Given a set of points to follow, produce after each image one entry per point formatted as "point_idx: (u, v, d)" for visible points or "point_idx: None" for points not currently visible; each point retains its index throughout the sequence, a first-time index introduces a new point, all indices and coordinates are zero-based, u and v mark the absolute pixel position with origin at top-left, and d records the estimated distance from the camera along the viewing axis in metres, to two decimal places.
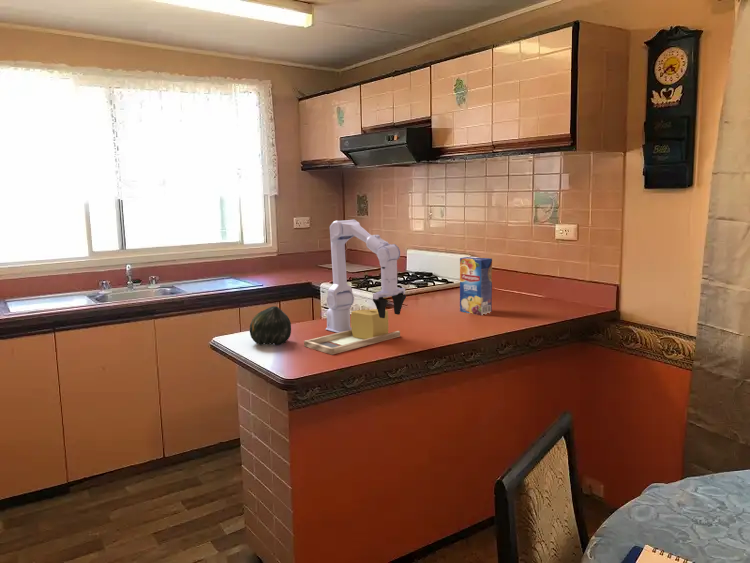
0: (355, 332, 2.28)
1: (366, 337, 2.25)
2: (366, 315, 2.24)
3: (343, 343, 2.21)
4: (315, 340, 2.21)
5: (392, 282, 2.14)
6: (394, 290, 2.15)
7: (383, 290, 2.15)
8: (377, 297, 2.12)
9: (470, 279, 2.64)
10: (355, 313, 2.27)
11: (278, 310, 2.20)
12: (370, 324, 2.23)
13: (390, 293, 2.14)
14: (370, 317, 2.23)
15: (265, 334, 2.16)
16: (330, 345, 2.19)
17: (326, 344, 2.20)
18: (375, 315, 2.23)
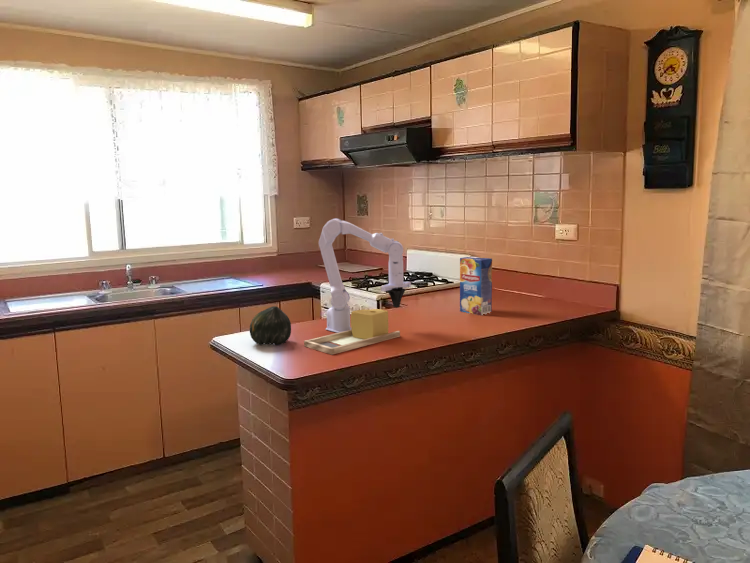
0: (355, 332, 2.28)
1: (366, 337, 2.25)
2: (366, 315, 2.24)
3: (343, 343, 2.21)
4: (315, 340, 2.21)
5: (399, 276, 2.33)
6: (400, 283, 2.34)
7: (390, 283, 2.34)
8: (385, 289, 2.31)
9: (470, 279, 2.64)
10: (355, 313, 2.27)
11: (278, 310, 2.20)
12: (370, 324, 2.23)
13: (397, 286, 2.33)
14: (370, 317, 2.23)
15: (265, 334, 2.16)
16: (330, 345, 2.19)
17: (326, 344, 2.20)
18: (375, 315, 2.23)
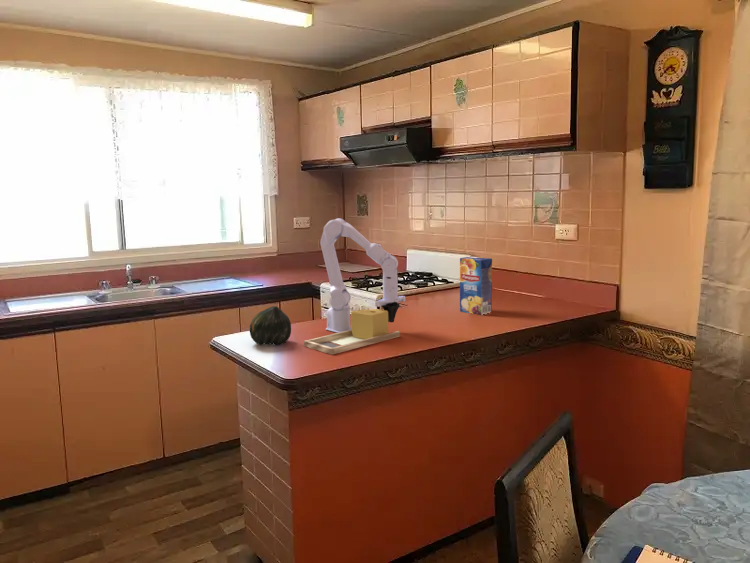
0: (355, 332, 2.28)
1: (366, 337, 2.25)
2: (366, 315, 2.24)
3: (343, 343, 2.21)
4: (315, 340, 2.21)
5: (393, 291, 2.32)
6: (395, 298, 2.33)
7: (385, 298, 2.33)
8: (379, 304, 2.30)
9: (470, 279, 2.64)
10: (355, 313, 2.27)
11: (278, 310, 2.20)
12: (370, 324, 2.23)
13: (391, 301, 2.32)
14: (370, 317, 2.23)
15: (265, 334, 2.16)
16: (330, 345, 2.19)
17: (326, 344, 2.20)
18: (375, 315, 2.23)
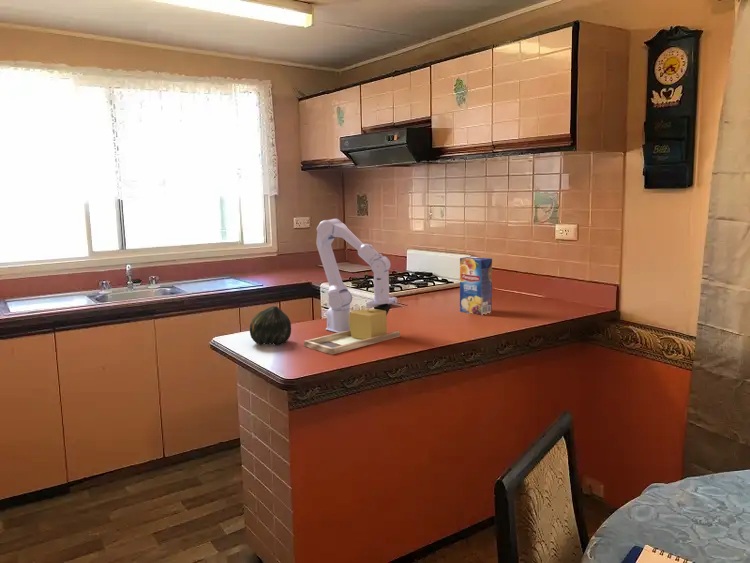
0: (354, 332, 2.28)
1: (364, 337, 2.25)
2: (364, 315, 2.23)
3: (343, 343, 2.21)
4: (315, 340, 2.21)
5: (384, 292, 2.29)
6: (386, 299, 2.30)
7: (376, 299, 2.30)
8: (370, 306, 2.27)
9: (470, 279, 2.64)
10: (353, 313, 2.26)
11: (278, 310, 2.20)
12: (368, 324, 2.22)
13: (382, 302, 2.29)
14: (368, 318, 2.22)
15: (265, 334, 2.16)
16: (330, 345, 2.19)
17: (326, 344, 2.20)
18: (373, 315, 2.23)
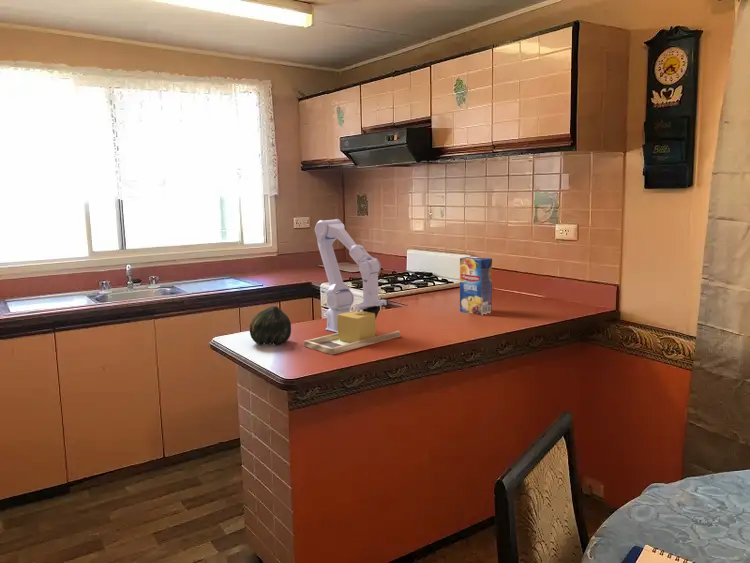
0: (342, 335, 2.24)
1: (353, 340, 2.21)
2: (352, 318, 2.19)
3: (343, 343, 2.21)
4: (315, 340, 2.21)
5: (373, 294, 2.25)
6: (375, 302, 2.26)
7: (365, 302, 2.26)
8: (359, 309, 2.23)
9: (470, 279, 2.64)
10: (341, 316, 2.22)
11: (278, 310, 2.20)
12: (356, 327, 2.18)
13: (371, 305, 2.25)
14: (356, 320, 2.18)
15: (265, 334, 2.16)
16: (330, 345, 2.19)
17: (326, 344, 2.20)
18: (361, 318, 2.19)
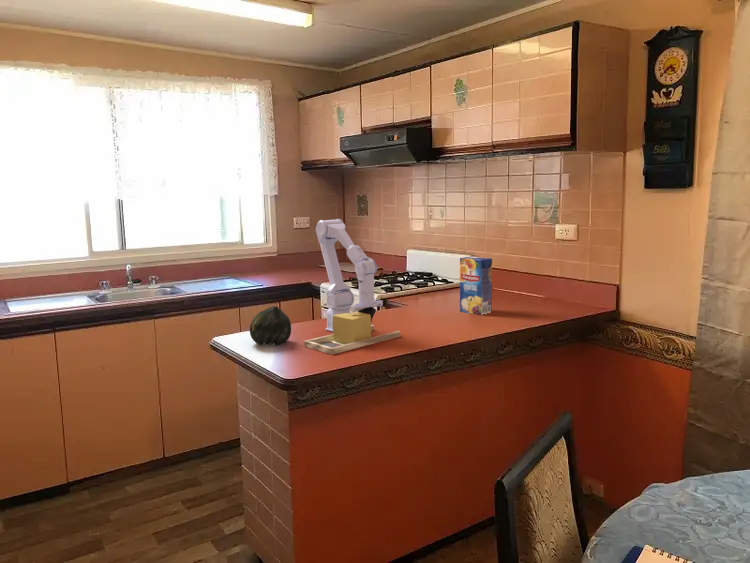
0: (337, 336, 2.22)
1: (348, 342, 2.19)
2: (347, 319, 2.18)
3: (343, 343, 2.21)
4: (315, 340, 2.21)
5: (369, 295, 2.24)
6: (371, 303, 2.25)
7: (361, 303, 2.25)
8: (354, 310, 2.22)
9: (470, 279, 2.64)
10: (336, 317, 2.21)
11: (278, 310, 2.20)
12: (351, 328, 2.17)
13: (367, 306, 2.24)
14: (351, 321, 2.17)
15: (265, 334, 2.16)
16: (330, 345, 2.19)
17: (326, 344, 2.20)
18: (356, 319, 2.17)
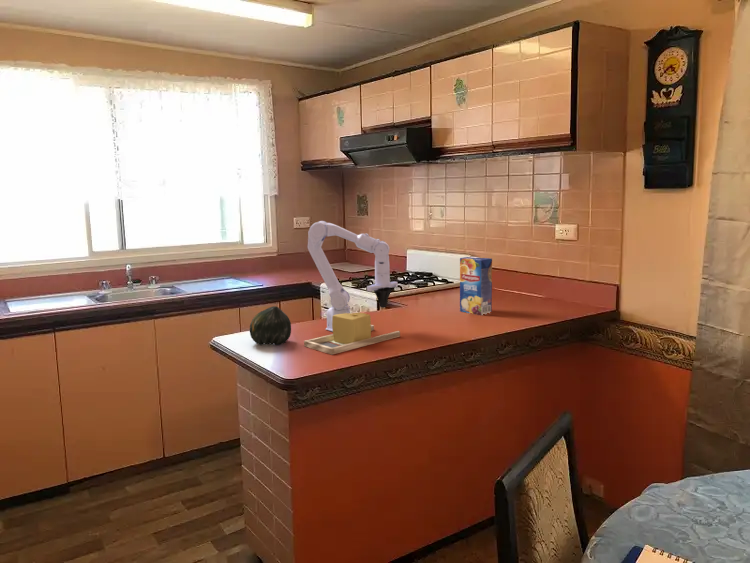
0: (337, 336, 2.22)
1: (347, 342, 2.19)
2: (347, 319, 2.18)
3: (343, 343, 2.21)
4: (315, 340, 2.21)
5: (385, 276, 2.33)
6: (387, 283, 2.34)
7: (376, 283, 2.35)
8: (371, 289, 2.31)
9: (470, 279, 2.64)
10: (336, 317, 2.21)
11: (278, 310, 2.20)
12: (351, 328, 2.17)
13: (383, 286, 2.33)
14: (351, 321, 2.17)
15: (265, 334, 2.16)
16: (330, 345, 2.19)
17: (326, 344, 2.20)
18: (356, 319, 2.17)
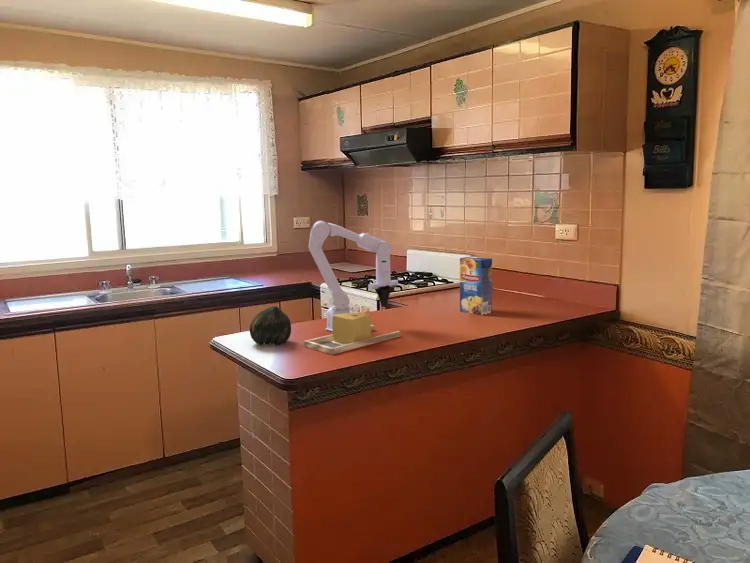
0: (337, 336, 2.22)
1: (347, 342, 2.19)
2: (347, 319, 2.18)
3: (343, 343, 2.21)
4: (315, 340, 2.21)
5: (386, 274, 2.37)
6: (387, 281, 2.38)
7: (378, 281, 2.38)
8: (372, 288, 2.35)
9: (470, 279, 2.64)
10: (336, 317, 2.21)
11: (278, 310, 2.20)
12: (351, 328, 2.17)
13: (384, 284, 2.37)
14: (351, 321, 2.17)
15: (265, 334, 2.16)
16: (330, 345, 2.19)
17: (326, 344, 2.20)
18: (356, 319, 2.17)
